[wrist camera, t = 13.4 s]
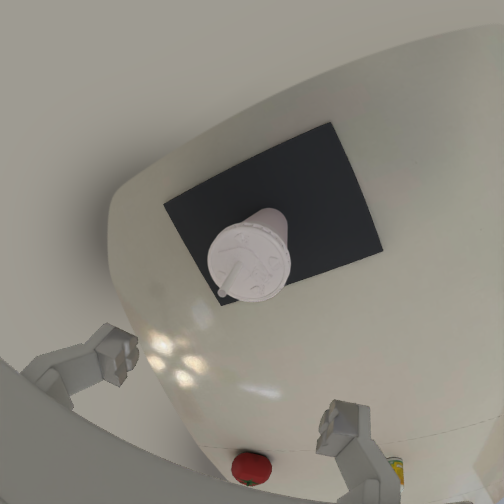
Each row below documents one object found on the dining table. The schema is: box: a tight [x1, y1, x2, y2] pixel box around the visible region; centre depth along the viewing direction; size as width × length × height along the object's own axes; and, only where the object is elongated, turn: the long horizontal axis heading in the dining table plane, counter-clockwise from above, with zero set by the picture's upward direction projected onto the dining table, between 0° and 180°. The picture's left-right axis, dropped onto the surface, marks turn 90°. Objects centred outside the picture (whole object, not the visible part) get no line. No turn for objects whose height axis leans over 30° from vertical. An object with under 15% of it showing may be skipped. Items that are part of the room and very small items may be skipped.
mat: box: [163, 122, 383, 306], centre depth 32 cm, size 20×14×1 cm
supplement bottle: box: [387, 458, 404, 501], centre depth 41 cm, size 5×5×10 cm
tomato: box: [231, 452, 272, 486], centre depth 49 cm, size 8×8×7 cm
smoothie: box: [207, 208, 291, 302], centre depth 25 cm, size 6×6×14 cm
